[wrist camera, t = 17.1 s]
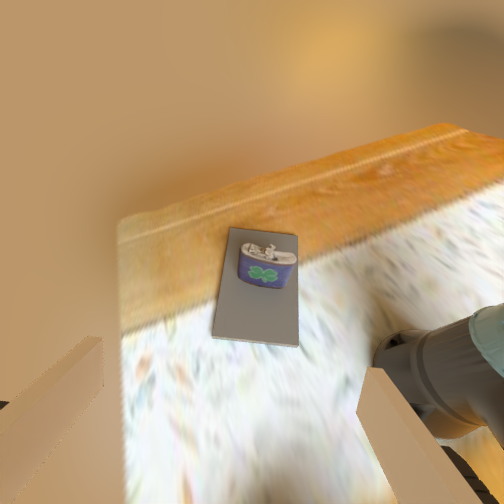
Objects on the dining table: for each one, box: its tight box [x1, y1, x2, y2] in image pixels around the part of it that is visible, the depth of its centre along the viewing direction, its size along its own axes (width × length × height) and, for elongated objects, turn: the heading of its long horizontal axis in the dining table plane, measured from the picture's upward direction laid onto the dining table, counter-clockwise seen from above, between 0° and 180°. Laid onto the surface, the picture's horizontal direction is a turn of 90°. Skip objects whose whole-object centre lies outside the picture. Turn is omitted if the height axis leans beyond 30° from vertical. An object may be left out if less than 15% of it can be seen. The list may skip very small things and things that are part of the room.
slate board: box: [212, 228, 299, 348], centre depth 48 cm, size 14×22×2 cm, turn 175°
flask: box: [238, 243, 297, 289], centre depth 43 cm, size 9×3×11 cm, turn 78°
